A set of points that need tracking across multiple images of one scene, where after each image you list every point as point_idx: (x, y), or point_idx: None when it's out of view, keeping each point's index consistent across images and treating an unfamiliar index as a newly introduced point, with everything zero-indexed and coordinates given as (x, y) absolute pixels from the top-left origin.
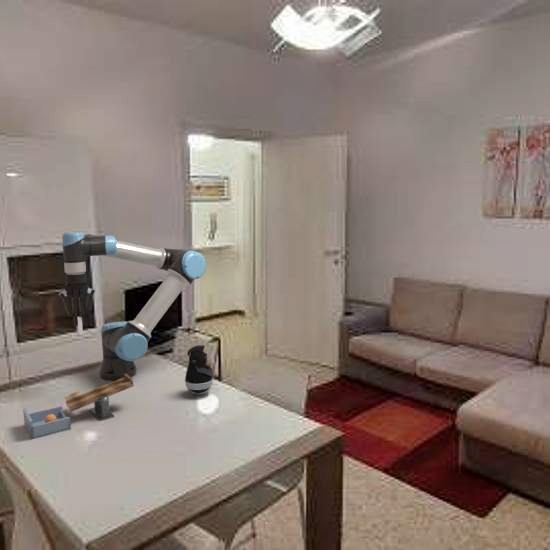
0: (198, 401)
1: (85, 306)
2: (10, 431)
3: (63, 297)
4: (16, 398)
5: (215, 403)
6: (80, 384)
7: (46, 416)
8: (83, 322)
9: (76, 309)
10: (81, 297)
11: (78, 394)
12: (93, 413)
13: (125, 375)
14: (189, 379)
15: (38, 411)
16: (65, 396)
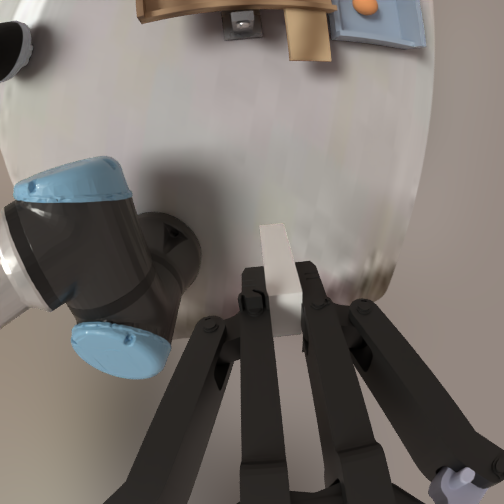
0: (38, 14)
1: (220, 402)
2: (426, 45)
3: (481, 447)
4: (392, 215)
5: (23, 2)
6: (253, 228)
7: (376, 5)
8: (251, 278)
9: (322, 356)
10: (272, 486)
11: (296, 36)
12: (259, 13)
13: (142, 3)
14: (15, 29)
15: (391, 40)
16: (329, 58)
